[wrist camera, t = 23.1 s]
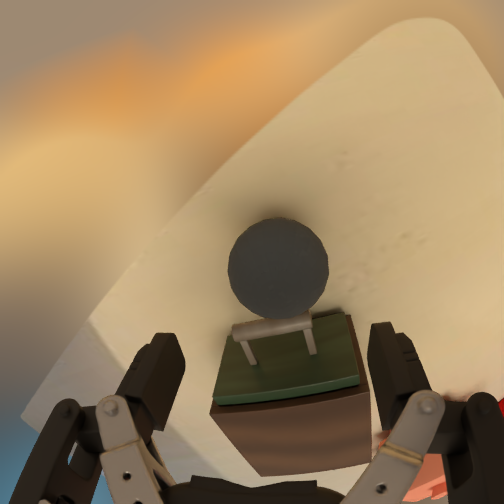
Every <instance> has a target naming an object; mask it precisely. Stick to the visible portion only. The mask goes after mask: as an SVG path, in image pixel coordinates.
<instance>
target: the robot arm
mask: <svg viewBox="0 0 504 504" xmlns="http://www.w3.org/2000/svg"><path fill="white" fill-rule="evenodd" d="M367 361H368V367H369V371H370V375H371V380H372V384H373V388H374V393H375V397H376V402H377V406H378V411H379V416H380V421H381V426H382V431H383V430H389V429H391V433H390V434H389V436H388V438H387V439H386V441H385V443H384V444H383V445H382V446H381V447H380V449H379V450H378V452H377V453H376V455H375V456H374V458H373V459H372V461H371V462H370V464H369V465H368V467H367V468H366V469H365V471H364V472H363V474H362V475H361V476H360V478H359V479H358V481H357V482H356V483H355V485H354V486H353V487H352V489H351V490H350V491H349V492H348V494H347V495H346V496H344V495H343V494H341V493H339V492H336V491H334V490H331V489H328V488H324V487H318V486H317V480H312V481H285V482H280V483H276V484H271V485H266V486H260V487H254V488H250V487H246V486H242V485H239V484H236V483H232V482H229V481H226V480H223V479H219V478H210V477H202V476H195V475H192V477H191V481H190V482H184V483H180V484H177V483H176V482H175V480H174V479H173V477H172V476H171V475H170V473H169V472H168V470H167V468H166V466H165V464H164V461H163V459H162V457H161V455H160V453H159V451H158V448H157V446H156V444H155V441H154V439H153V437H152V436H151V435H152V433H153V430H158V431H164V428H165V425H166V422H167V419H168V417H169V414H170V411H171V408H172V405H173V402H174V400H175V397H176V394H177V391H178V389H179V386H180V383H181V380H182V378H183V375H184V372H185V358H184V356H183V353H182V350H181V348H180V345H179V343H178V340H177V337H176V335H175V334H174V333H156V334H155V335H154V337H153V339H152V341H151V343H150V344H146V345H144V346H143V347H142V348H141V349H140V350H139V351H138V352H137V354H136V356H135V358H134V360H133V362H132V363H131V365H130V367H129V369H128V371H127V372H126V374H125V376H124V378H123V380H122V382H121V384H120V386H119V387H118V389H117V391H116V393H115V395H110V396H107V397H105V398H103V399H102V400H101V401H100V402H99V403H98V404H97V406H87V407H81V406H80V405H79V404H78V402H77V401H76V400H74V399H70V398H69V399H64V400H62V401H60V402H59V403H58V404H57V405H56V406H55V407H54V409H53V411H52V413H51V414H50V416H49V418H48V420H47V422H46V424H45V426H44V428H43V430H42V432H41V433H40V436H39V437H38V440H37V441H36V443H35V445H34V447H33V449H32V452H31V454H30V456H29V458H28V460H27V462H26V464H25V467H24V469H23V471H22V473H21V475H20V478H19V480H18V482H17V484H16V487H15V489H14V492H13V494H12V497H11V499H10V501H9V504H91V501H92V498H93V495H94V492H95V489H96V486H97V483H98V480H99V477H100V474H101V471H102V469H103V471H104V475H105V478H106V481H107V484H108V488H109V491H110V494H111V497H112V500H113V502H114V504H400V503H401V502H402V500H403V499H404V497H405V495H406V494H407V492H408V490H409V489H410V487H411V485H412V483H413V482H414V480H415V478H416V476H417V474H418V473H419V471H420V469H421V467H422V465H423V462H424V460H423V459H424V457H425V455H426V454H441V457H442V462H443V468H444V474H445V480H446V487H447V494H448V502H449V504H504V417H503V414H502V412H501V409H500V407H499V404H498V402H497V400H496V399H495V397H493V396H492V395H491V394H489V393H486V392H478V393H475V394H473V395H472V396H471V397H470V398H469V399H468V401H467V402H457V401H446V400H443V398H442V397H441V396H440V395H439V394H438V393H436V392H434V391H432V389H431V387H430V384H429V382H428V379H427V377H426V374H425V371H424V369H423V366H422V364H421V362H420V360H419V357H418V354H417V352H416V350H415V347H414V345H413V343H412V340H411V339H409V338H408V337H407V336H406V335H405V334H404V333H397V334H396V333H395V331H394V328H393V326H392V324H391V322H382V323H374V324H372V325H371V330H370V337H369V344H368V351H367ZM75 442H76V443H77V444H78V445H77V447H76V449H75V452H74V454H73V456H72V459H71V461H70V464H69V465H68V457H69V454H70V452H71V450H72V447H73V445H74V443H75Z"/></svg>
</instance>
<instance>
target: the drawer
mask: <svg viewBox="0 0 504 504" xmlns="http://www.w3.org/2000/svg"><path fill="white" fill-rule="evenodd" d="M358 384H360V378H359V371H358V367H357V362H356V358H355V354H354V349H353V345H352V341H351V337H350V333H349V329H348V325H347V321H346V317H345V313H344V312H342V313H338V314H334V315H330V316H325V317H321V318H316V319H312V317H311V313H310V310H309V309H308V310H306V311H305V312H303V313H302V314H300V315H297V316H294V317H292V318H287V319H270V318H265V319H260V320H255V321H250V322H245V323H239V324H234V325H232V335H229V336H228V337H227V341H226V345H225V349H224V353H223V356H222V360H221V364H220V368H219V372H218V376H217V380H216V384H215V388H214V392H213V396H212V397H213V399H214V400H215V402H216V403H217V405H228V404H233V406H237V405H248V404H258V403H267V402H275V401H282V400H289V399H296V398H302V397H308V396H314V395H319V394H325V393H330V392H335V391H339V390H344V389H349V388H351V386H354V385H358Z"/></svg>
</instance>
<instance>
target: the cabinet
mask: <svg viewBox="0 0 504 504" xmlns="http://www.w3.org/2000/svg"><path fill="white" fill-rule="evenodd" d="M345 317H346V321H347V325H348V329H349V333H350V337H351V341H352V345H353V349H354V354H355V358H356V362H357V367H358V371H359V378H360V384H358V385H354V386H351V388H349V389H344V390H339V391H335V392H330V393H325V394H319V395H314V396H308V397H302V398H296V399H289V400H282V401H275V402H267V403H258V404H248V405H237V406H233V404H228V405H217V403H216V402H215V400H214V399H213V401H212V405H211V409H210V413H209V415H210V416H211V417H212V419H213V420H214V421H215V422H216V424H217V425H218V426H219V428H220V429H221V430H222V431H223V433H224V434H225V435H226V436H227V438H228V439H229V440H230V441H231V443H232V444H233V445H234V446H235V447H236V449H237V450H238V451H239V452H240V453H241V455H242V456H243V457H244V458H245V459H246V460H247V462H248V463H249V464H250V465H251V466H252V467H253V468H254V469H255V471H256V472H257V473H258V474H259V475H260V476H261V477H265V476H283V475H295V474H305V473H313V472H321V471H328V470H334V469H340V468H346V467H351V466H356V465H361V464H366V463H370V462H371V461H372V433H371V402H370V389H369V385H368V381H367V376H366V372H365V368H364V364H363V360H362V356H361V352H360V348H359V344H358V340H357V337H356V333H355V329H354V326H353V322H352V318H351V315H347V316H345Z"/></svg>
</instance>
